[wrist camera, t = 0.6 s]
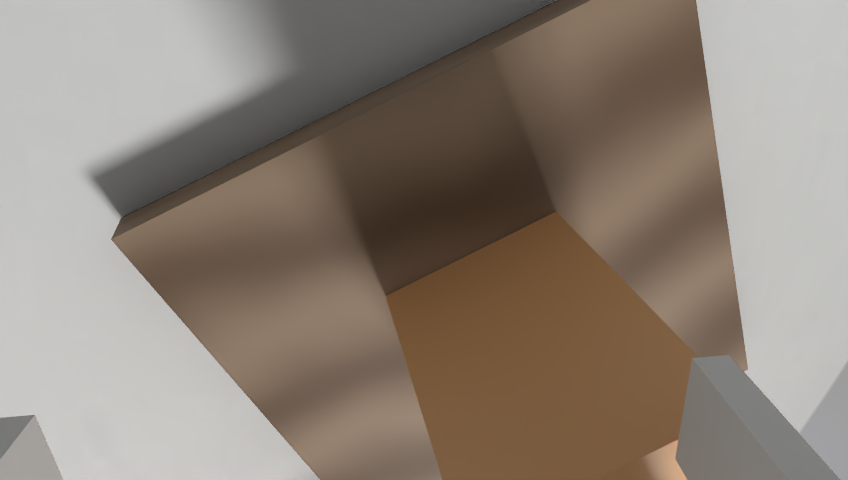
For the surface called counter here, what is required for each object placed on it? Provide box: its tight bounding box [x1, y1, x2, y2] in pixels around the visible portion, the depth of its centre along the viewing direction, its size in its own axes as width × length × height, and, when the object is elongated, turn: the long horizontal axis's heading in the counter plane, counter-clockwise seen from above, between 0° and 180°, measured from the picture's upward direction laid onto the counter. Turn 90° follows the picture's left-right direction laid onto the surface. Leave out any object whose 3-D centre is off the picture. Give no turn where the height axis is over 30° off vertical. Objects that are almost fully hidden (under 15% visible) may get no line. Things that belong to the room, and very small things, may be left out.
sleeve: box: [386, 212, 699, 480], centre depth 19 cm, size 7×7×10 cm
